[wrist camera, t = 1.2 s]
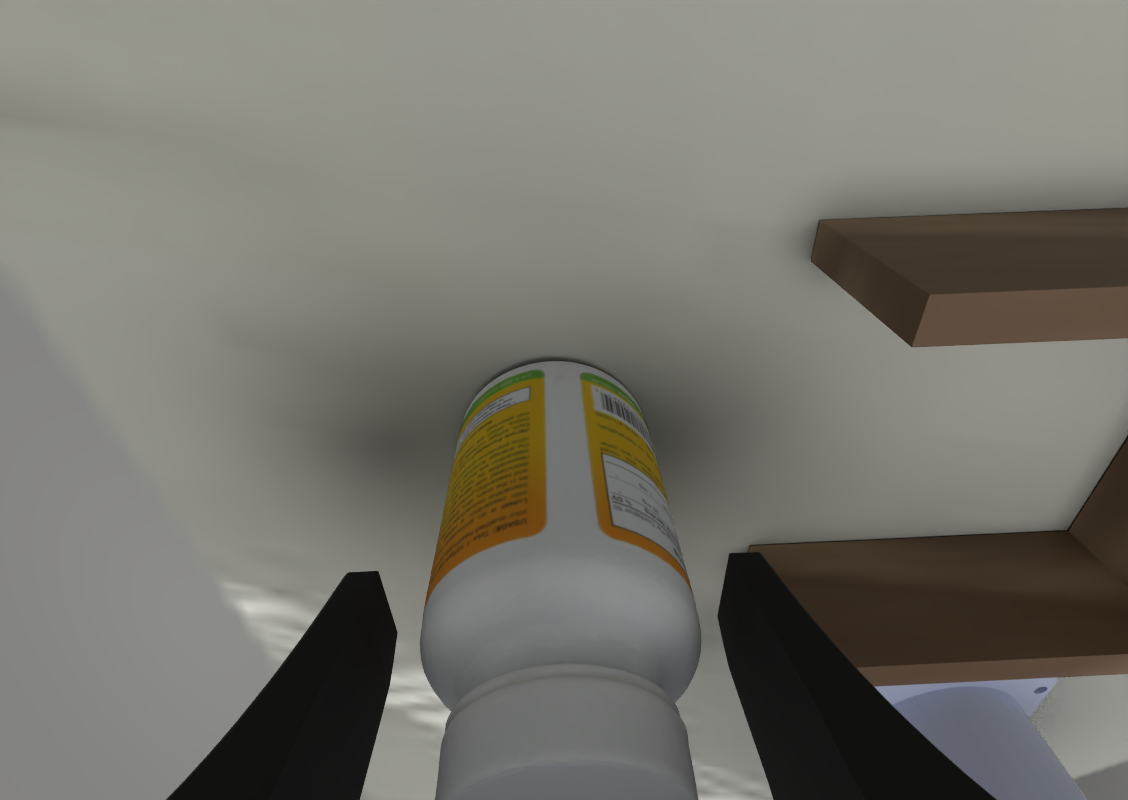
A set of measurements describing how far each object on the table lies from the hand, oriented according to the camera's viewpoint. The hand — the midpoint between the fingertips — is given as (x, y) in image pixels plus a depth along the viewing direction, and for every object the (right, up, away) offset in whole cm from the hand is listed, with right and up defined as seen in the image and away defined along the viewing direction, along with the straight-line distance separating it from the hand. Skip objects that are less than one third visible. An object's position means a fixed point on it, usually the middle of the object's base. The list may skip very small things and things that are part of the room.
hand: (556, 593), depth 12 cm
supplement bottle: (0, +3, +5) cm, 6 cm away
